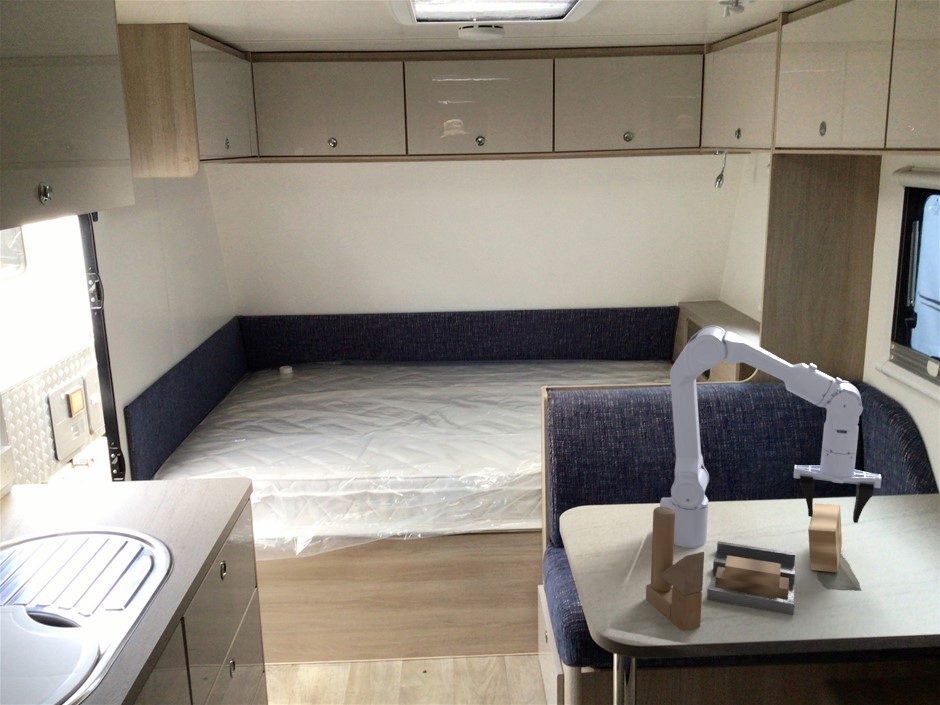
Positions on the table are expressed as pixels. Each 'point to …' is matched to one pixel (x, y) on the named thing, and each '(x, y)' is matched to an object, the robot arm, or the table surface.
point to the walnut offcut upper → (752, 571)
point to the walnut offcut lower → (752, 586)
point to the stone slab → (840, 577)
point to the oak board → (825, 537)
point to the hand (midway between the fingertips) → (832, 517)
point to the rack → (746, 598)
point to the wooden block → (674, 575)
